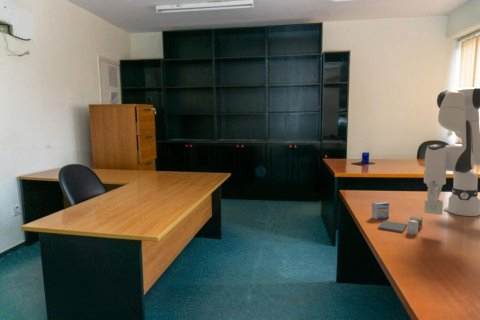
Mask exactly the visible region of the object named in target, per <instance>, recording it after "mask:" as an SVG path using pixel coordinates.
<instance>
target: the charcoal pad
mask: <svg viewBox="0 0 480 320" xmlns="http://www.w3.org/2000/svg"><path fill="white" fill-rule="evenodd" d="M407 228H408V223H402V222H396V221H388V220H383V221H382V222H381V223H380V225H378V230H383V231H387V232H388V231H389V232H395V233H400V234H402V233H404V231H405V229H407Z"/></svg>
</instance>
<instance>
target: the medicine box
mask: <svg viewBox="0 0 480 320" xmlns="http://www.w3.org/2000/svg"><path fill="white" fill-rule="evenodd" d="M389 218H390V202H387V201H377V202H371V219H374V220H377V221H379V220H384V219H385V220H386V219H389Z"/></svg>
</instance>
